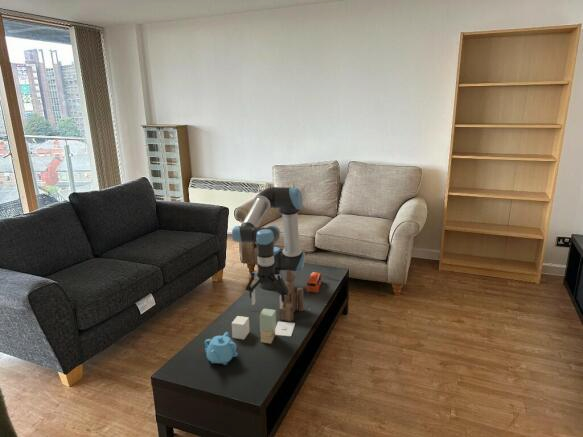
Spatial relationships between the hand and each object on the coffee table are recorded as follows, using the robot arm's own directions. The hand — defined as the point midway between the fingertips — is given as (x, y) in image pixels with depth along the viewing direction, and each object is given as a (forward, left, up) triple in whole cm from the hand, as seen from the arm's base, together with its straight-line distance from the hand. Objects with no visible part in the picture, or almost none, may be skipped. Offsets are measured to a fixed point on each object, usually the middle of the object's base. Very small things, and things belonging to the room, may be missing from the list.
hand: (267, 305), depth 189 cm
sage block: (0, 0, -12) cm, 12 cm away
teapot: (+21, -15, -18) cm, 32 cm away
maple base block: (0, 0, -18) cm, 18 cm away
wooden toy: (-25, +5, -18) cm, 31 cm away
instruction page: (-10, +5, -17) cm, 20 cm away
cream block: (0, -14, -18) cm, 22 cm away
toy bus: (-60, +10, -18) cm, 63 cm away
